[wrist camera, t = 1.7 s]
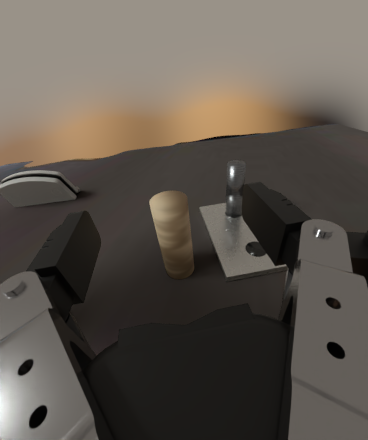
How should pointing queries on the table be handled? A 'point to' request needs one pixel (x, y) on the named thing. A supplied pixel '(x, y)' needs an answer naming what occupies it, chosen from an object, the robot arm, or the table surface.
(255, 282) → the table surface
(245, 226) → the bolt plate
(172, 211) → the oak post
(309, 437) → the robot arm
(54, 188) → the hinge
